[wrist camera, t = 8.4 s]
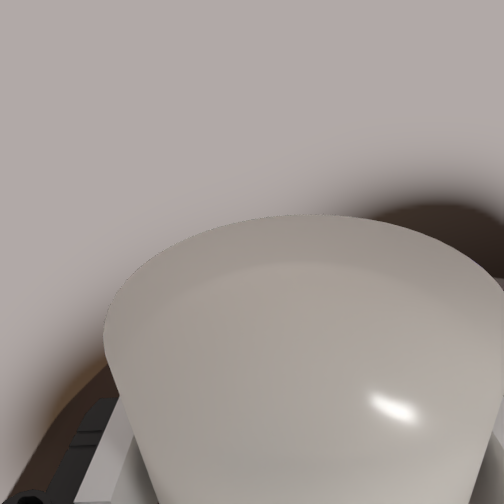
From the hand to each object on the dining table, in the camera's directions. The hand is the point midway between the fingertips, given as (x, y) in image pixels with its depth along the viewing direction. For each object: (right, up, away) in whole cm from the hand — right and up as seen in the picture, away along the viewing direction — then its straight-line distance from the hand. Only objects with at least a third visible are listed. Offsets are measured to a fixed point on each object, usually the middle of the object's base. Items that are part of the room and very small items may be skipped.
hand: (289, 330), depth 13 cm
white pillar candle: (+1, -8, 0) cm, 8 cm away
